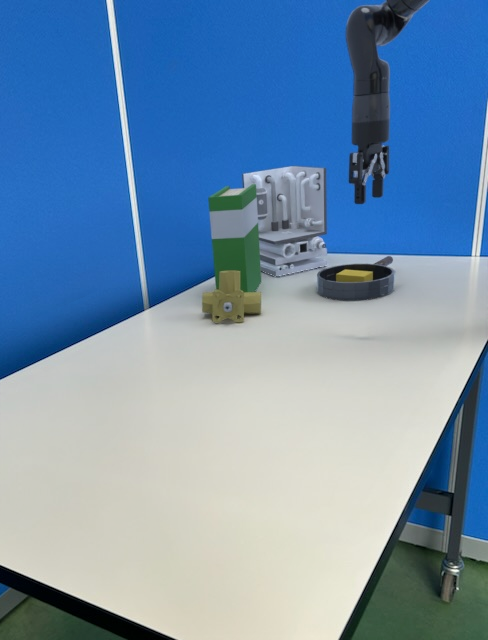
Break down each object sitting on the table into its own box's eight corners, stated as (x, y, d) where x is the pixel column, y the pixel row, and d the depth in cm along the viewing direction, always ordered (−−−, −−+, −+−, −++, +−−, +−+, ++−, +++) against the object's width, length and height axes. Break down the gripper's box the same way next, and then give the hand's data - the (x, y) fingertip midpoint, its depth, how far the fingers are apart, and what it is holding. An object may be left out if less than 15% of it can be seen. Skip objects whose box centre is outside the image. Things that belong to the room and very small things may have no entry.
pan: (406, 283, 145) (406, 266, 144) (373, 304, 134) (374, 285, 132) (339, 277, 156) (339, 261, 154) (303, 296, 144) (303, 279, 143)
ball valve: (204, 316, 141) (199, 324, 131) (204, 270, 138) (198, 275, 128) (261, 316, 139) (259, 325, 130) (261, 269, 136) (260, 274, 126)
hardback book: (233, 282, 162) (226, 186, 151) (261, 282, 159) (256, 184, 149) (217, 303, 146) (208, 197, 136) (248, 302, 144) (241, 195, 134)
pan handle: (394, 263, 156) (394, 255, 156) (374, 274, 149) (374, 266, 148) (386, 262, 158) (386, 255, 157) (366, 273, 150) (367, 265, 149)
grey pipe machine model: (296, 257, 180) (293, 165, 170) (334, 268, 164) (334, 168, 153) (248, 267, 175) (242, 173, 165) (282, 280, 159) (278, 177, 149)
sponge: (372, 286, 144) (373, 271, 143) (363, 291, 141) (364, 276, 140) (345, 283, 148) (345, 269, 147) (335, 288, 145) (335, 274, 144)
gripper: (372, 120, 121) (370, 206, 127) (402, 114, 130) (399, 195, 137) (337, 123, 125) (337, 206, 132) (368, 117, 135) (367, 195, 142)
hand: (368, 200), depth 135 cm, fingers open, 8 cm apart
